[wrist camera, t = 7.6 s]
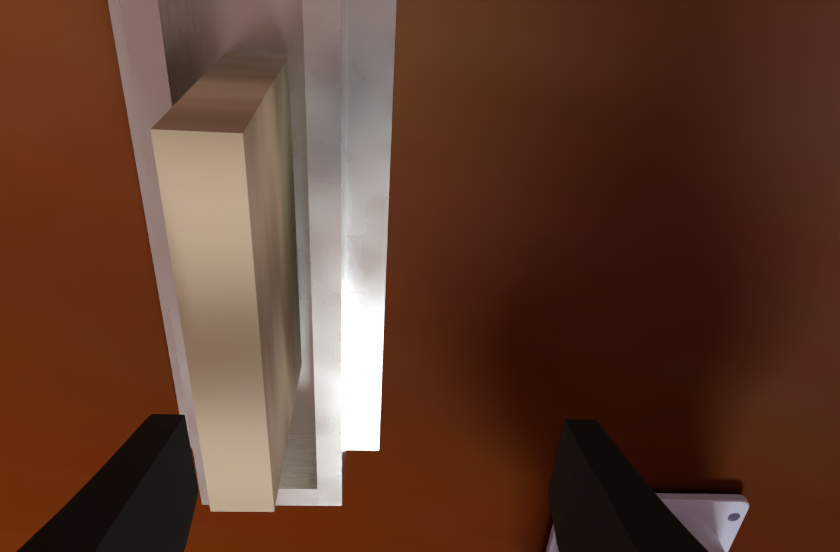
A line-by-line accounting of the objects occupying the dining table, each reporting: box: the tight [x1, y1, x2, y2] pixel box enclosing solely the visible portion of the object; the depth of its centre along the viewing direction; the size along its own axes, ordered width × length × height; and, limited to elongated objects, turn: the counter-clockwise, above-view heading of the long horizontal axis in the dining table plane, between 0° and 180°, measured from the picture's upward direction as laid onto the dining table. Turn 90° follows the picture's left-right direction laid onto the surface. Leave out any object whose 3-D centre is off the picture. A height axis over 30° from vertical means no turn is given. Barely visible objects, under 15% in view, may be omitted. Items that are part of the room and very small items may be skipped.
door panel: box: [150, 53, 302, 512], centre depth 17 cm, size 10×2×6 cm, turn 177°
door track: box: [108, 0, 396, 506], centre depth 19 cm, size 18×7×4 cm, turn 177°
